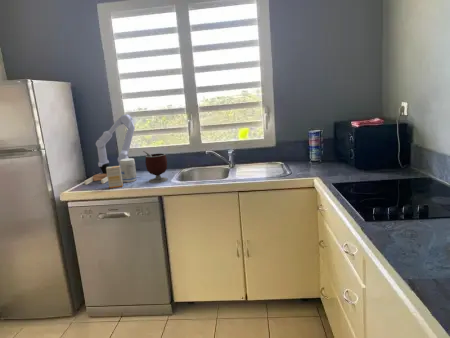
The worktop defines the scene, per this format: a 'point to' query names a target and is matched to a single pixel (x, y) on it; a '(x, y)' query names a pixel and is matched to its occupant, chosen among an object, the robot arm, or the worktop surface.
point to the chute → (93, 180)
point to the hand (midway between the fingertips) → (105, 174)
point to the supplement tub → (128, 170)
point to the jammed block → (99, 177)
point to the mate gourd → (156, 166)
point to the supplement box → (114, 176)
